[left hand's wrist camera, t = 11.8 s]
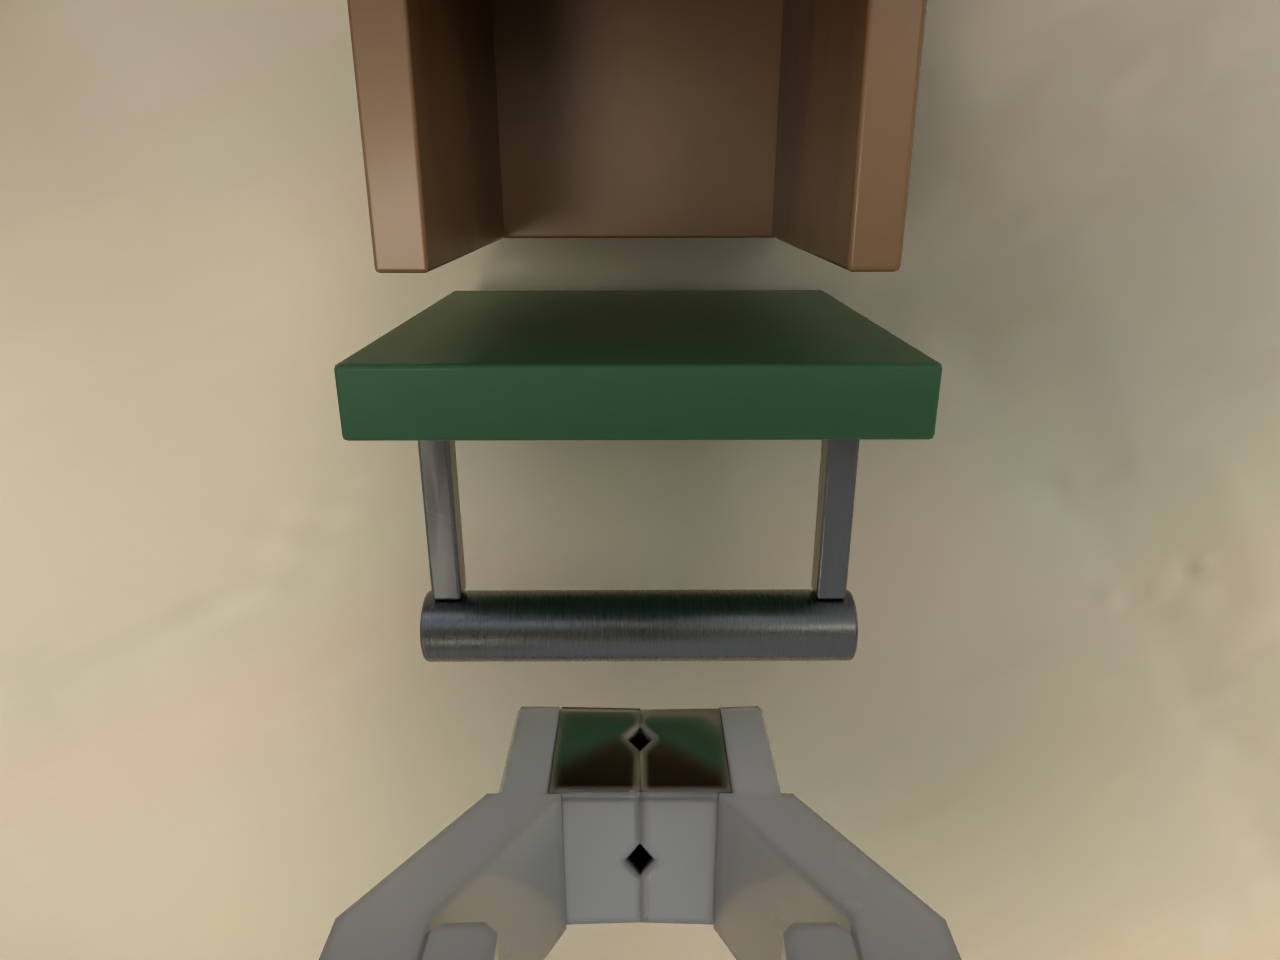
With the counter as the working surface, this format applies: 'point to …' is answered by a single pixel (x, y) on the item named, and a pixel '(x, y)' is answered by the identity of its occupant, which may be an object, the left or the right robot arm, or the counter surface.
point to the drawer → (637, 320)
